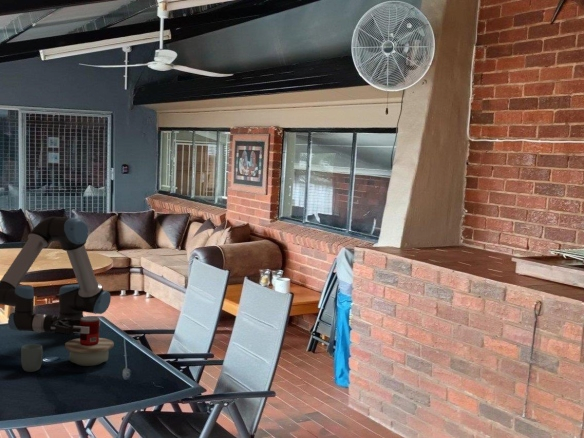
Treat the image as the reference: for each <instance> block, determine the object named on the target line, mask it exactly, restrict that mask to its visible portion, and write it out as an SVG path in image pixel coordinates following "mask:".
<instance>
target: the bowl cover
mask: <svg viewBox="0 0 584 438" xmlns="http://www.w3.org/2000/svg"><path fill="white" fill-rule="evenodd" d="M64 348H65V350H67V351H69V352H70V351H73V352H80V353H94V352H102V351H106V350H111V349H112V348H114V341H113V340H111V339H109V338H104V337H99V342H98V344H96V345H92V346H85V345H81V344H80V337H79V338H73V339H70V340H68V341H66V342H65V343H64Z"/></svg>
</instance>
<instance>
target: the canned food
mask: <svg viewBox="0 0 584 438" xmlns="http://www.w3.org/2000/svg"><path fill="white" fill-rule="evenodd" d="M99 320H100V317H98V316H92V315H90V316H83V317H82V318H81V320H80V326H82V327H89V334H84V333H79V338H80V344H81V345H85V346H92V345H96V344H98V342H99V338H100V326H99Z"/></svg>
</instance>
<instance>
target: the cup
mask: <svg viewBox="0 0 584 438" xmlns="http://www.w3.org/2000/svg"><path fill="white" fill-rule="evenodd" d="M20 351H21V352H20V353H21V354H20V355H21V356H20V359H21V360H20V361H21V366H22V369H23V371H25V372H27V373H28V372H29V373H33V372H37V371H38V370H40V368H41V366H42V362H43V345H42V344H40V343H30V344H23V345H22V346H21V349H20Z"/></svg>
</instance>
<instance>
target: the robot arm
mask: <svg viewBox="0 0 584 438" xmlns="http://www.w3.org/2000/svg"><path fill="white" fill-rule="evenodd" d="M88 238H89V227H88V225H87V223H86V222H85V221H84V220H82V219H80V218H76V217H64V216H63V217H61V216H49V217H46V218H44V219H42V220H41V221H39V222H38V223H37V224H36V225H35V226H34V227H33V228H32V230H31V231H30V232H29V233H28V235H27V241H26V242H25V244H24V245H23V247H22V248H21V250H20V251H19V252H18V254H17V255H16V257H15V259H14V260H13V261H12V263H11V265H9V267H8V269H7V270H6V272H5V273H4V275H3V276H2V278H1V280H0V305H4V306H9V307H14V312H11V313H10V314H9V316H8V320H7V326H8V328H9V329H10V330H13V331H19V332H36V333H38V334H40V333H44V332H45V333H52V334H53V333H60V334H67V335H71V336H72V335H73V334H80V333H84V334H89V327H82V326H80V320H81V318H82V317H84V313H88V314H94V315H96V314H98V315H102V314H104V313H106V312H107V310H108V308H109V307H110V305H111V300H112V299H111V292H109V291H107V290H104V288H103V285H102V284H101V283H100V282H99V281H98V280H97V277H96V275H95V272H94V269H93V266H92V263H91V261H90V257H89V254H88V251H87V250H86V249H87V248H86V243H87V240H88ZM51 242H56V243H57V242H58V243H59V245H60V248H61V249H62V250H63V251H65V252H66V253H67V256H68V259H69V262H70V265H71V267H72V270H73V273H74V275H75V279H76V282H77V283H75V284H67V285H63V286H61V287H59V294H58V316H57V315H56V314H44V313H34V306H35V304H34V302H35V301H34V299H35V293H34V291H35V290H34V286H32V285H29V284H20V283H22V280H23V279H24V277H26V274H27V273H28V272H29V270H30V268H31V267H32V266H33V264H34V262H35V260H36V259H37V258H38V256H39V255H40V253H41V252H42V250H43V249H44V248H46V247H48V245H49V244H50V243H51ZM100 326H101V319H99V327H100Z"/></svg>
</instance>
